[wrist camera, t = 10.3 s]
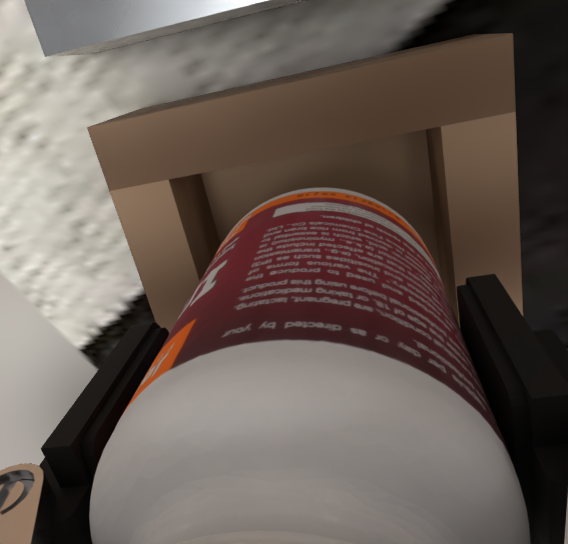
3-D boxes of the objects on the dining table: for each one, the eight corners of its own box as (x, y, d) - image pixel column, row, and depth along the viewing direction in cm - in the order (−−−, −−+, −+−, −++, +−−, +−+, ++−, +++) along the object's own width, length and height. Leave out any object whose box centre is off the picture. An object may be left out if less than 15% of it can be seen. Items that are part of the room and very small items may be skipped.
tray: (139, 109, 18) (87, 127, 14) (473, 34, 16) (512, 33, 12) (221, 374, 22) (197, 440, 18) (492, 341, 20) (526, 408, 16)
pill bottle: (210, 175, 14) (-165, 563, 4) (451, 186, 13) (817, 678, 3) (217, 372, 16) (14, 921, 6) (419, 388, 16) (559, 1016, 6)
